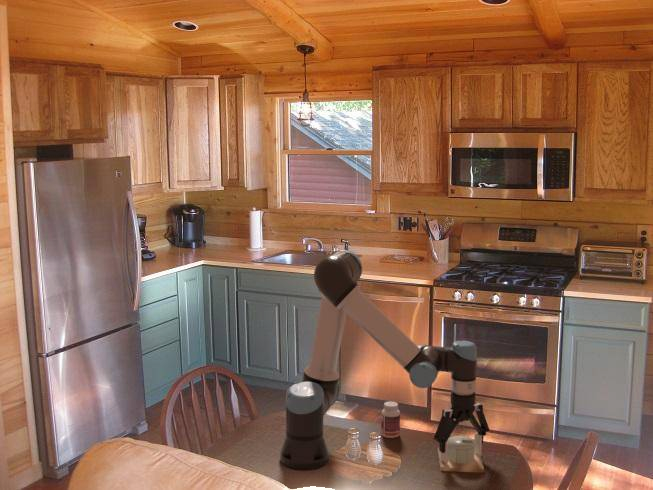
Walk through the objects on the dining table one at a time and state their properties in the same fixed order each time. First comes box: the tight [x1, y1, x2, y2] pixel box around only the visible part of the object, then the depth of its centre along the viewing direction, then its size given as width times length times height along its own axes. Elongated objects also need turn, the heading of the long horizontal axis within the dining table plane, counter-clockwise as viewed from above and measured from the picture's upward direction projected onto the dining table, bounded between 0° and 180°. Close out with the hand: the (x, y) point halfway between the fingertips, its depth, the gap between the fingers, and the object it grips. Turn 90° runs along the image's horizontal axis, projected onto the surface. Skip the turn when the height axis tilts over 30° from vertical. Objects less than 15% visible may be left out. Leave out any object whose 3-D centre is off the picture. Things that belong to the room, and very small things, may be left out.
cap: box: [447, 435, 475, 464], centre depth 239 cm, size 8×8×6 cm
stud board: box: [436, 446, 485, 474], centre depth 239 cm, size 13×14×5 cm
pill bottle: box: [380, 401, 401, 439], centre depth 258 cm, size 6×6×11 cm
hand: (461, 457), depth 239 cm, fingers open, 12 cm apart
